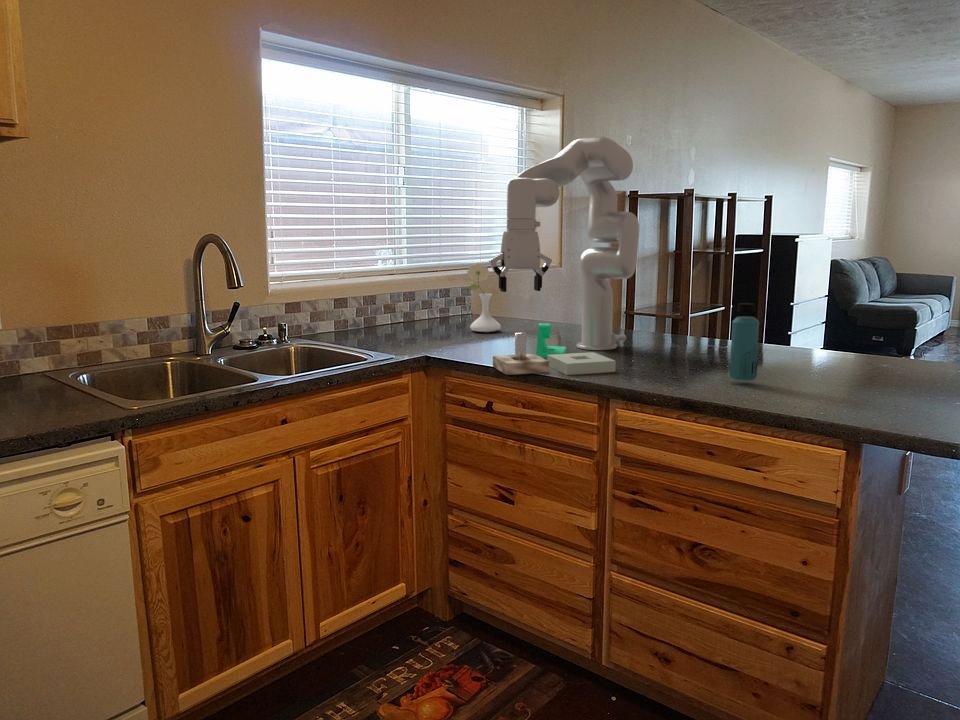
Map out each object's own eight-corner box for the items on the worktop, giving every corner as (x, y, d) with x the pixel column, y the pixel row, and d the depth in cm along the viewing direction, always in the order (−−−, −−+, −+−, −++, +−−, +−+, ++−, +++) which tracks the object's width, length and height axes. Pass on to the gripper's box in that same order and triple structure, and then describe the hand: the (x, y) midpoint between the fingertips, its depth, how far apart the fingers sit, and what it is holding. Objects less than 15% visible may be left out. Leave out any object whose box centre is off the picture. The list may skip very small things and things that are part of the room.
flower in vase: (505, 330, 276) (506, 262, 272) (493, 334, 266) (493, 264, 261) (473, 328, 282) (473, 261, 277) (460, 332, 271) (460, 263, 267)
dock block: (592, 362, 213) (593, 352, 212) (615, 371, 200) (615, 360, 199) (547, 365, 209) (547, 354, 209) (566, 375, 196) (567, 363, 195)
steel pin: (523, 367, 206) (523, 332, 204) (527, 370, 203) (527, 333, 201) (513, 368, 205) (513, 332, 203) (517, 370, 202) (517, 334, 200)
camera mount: (562, 362, 215) (563, 326, 213) (536, 361, 216) (536, 326, 214) (566, 355, 226) (566, 321, 224) (541, 354, 228) (541, 320, 226)
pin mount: (533, 364, 211) (533, 353, 211) (549, 372, 200) (549, 361, 199) (492, 366, 208) (492, 355, 207) (506, 374, 196) (506, 363, 196)
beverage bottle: (753, 387, 180) (758, 305, 176) (725, 384, 184) (729, 303, 180) (759, 382, 186) (764, 302, 182) (731, 379, 189) (736, 301, 185)
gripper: (546, 226, 203) (545, 289, 206) (485, 226, 198) (485, 290, 201) (557, 226, 196) (555, 291, 199) (494, 226, 191) (493, 293, 194)
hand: (520, 291), depth 200 cm, fingers open, 9 cm apart
